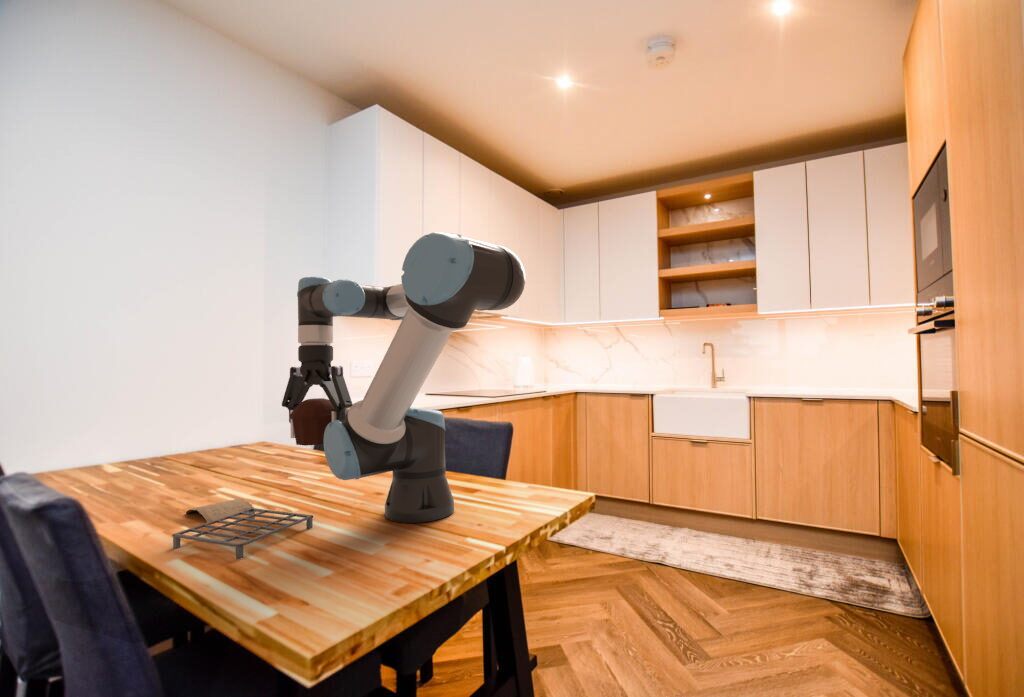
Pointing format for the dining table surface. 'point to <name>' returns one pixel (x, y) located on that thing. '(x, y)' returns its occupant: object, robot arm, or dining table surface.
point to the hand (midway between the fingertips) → (316, 438)
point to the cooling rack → (250, 518)
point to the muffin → (311, 421)
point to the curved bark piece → (222, 509)
